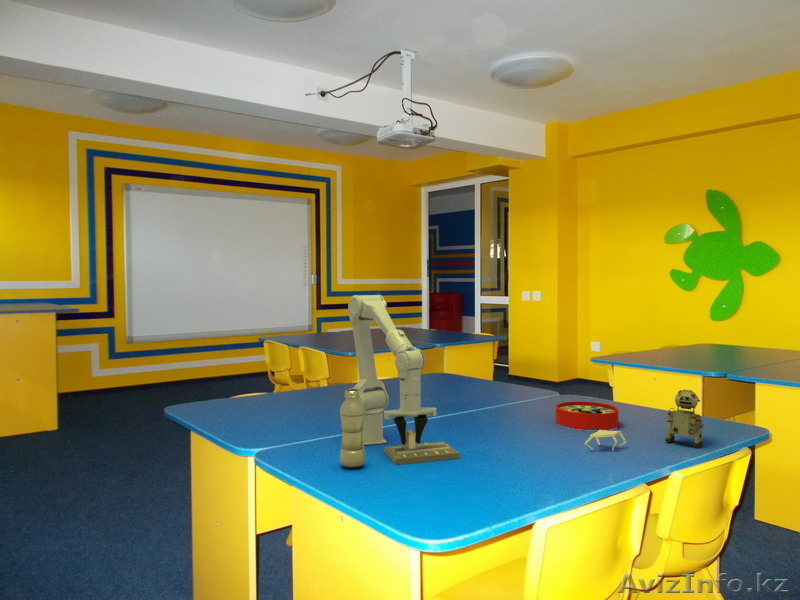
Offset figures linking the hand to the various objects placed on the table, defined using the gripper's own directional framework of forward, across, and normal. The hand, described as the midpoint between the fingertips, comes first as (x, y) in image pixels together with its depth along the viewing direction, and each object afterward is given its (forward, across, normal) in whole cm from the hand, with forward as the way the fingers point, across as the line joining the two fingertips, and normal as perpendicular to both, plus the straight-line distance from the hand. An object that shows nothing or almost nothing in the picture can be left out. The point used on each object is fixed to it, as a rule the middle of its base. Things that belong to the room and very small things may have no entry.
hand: (410, 443), depth 158 cm
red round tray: (+4, +67, +16) cm, 69 cm away
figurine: (+4, +81, -12) cm, 82 cm away
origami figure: (+4, +54, -10) cm, 55 cm away
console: (+4, +3, 0) cm, 5 cm away
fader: (+2, 0, 0) cm, 2 cm away
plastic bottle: (+4, -17, -4) cm, 18 cm away
